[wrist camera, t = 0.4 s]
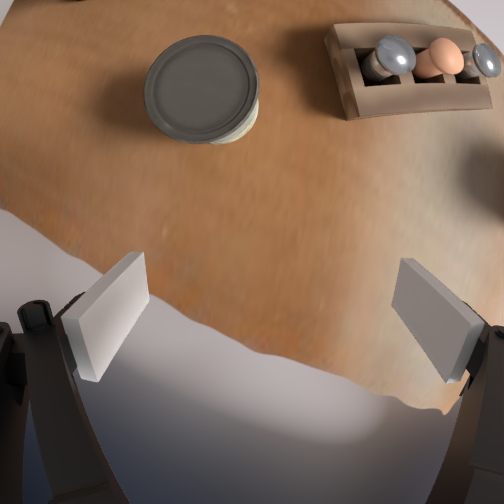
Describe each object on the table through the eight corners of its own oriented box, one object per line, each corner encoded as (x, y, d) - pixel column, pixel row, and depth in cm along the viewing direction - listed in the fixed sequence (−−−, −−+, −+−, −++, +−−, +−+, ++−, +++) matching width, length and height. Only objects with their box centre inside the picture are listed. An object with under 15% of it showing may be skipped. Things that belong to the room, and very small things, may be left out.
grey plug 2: (443, 53, 28) (472, 41, 21) (465, 55, 28) (495, 45, 21) (451, 82, 30) (482, 75, 23) (473, 83, 29) (504, 77, 22)
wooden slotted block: (323, 39, 33) (333, 24, 27) (450, 39, 31) (471, 30, 25) (346, 120, 37) (360, 116, 31) (469, 110, 34) (492, 108, 29)
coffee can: (182, 148, 38) (145, 149, 25) (180, 75, 35) (143, 44, 22) (260, 143, 38) (261, 140, 25) (257, 68, 35) (256, 30, 21)
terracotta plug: (401, 52, 29) (428, 36, 22) (428, 52, 28) (457, 39, 22) (410, 83, 30) (439, 73, 23) (437, 82, 30) (468, 74, 23)
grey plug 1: (353, 53, 30) (372, 35, 23) (384, 52, 29) (409, 35, 22) (362, 86, 31) (385, 74, 24) (393, 83, 31) (420, 73, 24)
